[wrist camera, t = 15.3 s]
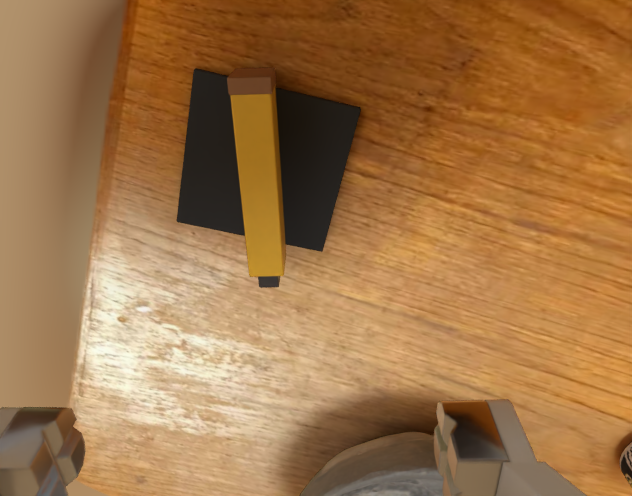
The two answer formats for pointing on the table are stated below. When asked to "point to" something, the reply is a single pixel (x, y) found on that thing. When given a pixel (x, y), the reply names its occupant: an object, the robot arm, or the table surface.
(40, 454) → the robot arm
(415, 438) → the bowl
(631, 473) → the beverage can
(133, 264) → the table surface
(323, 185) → the mat
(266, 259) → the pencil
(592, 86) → the table surface
